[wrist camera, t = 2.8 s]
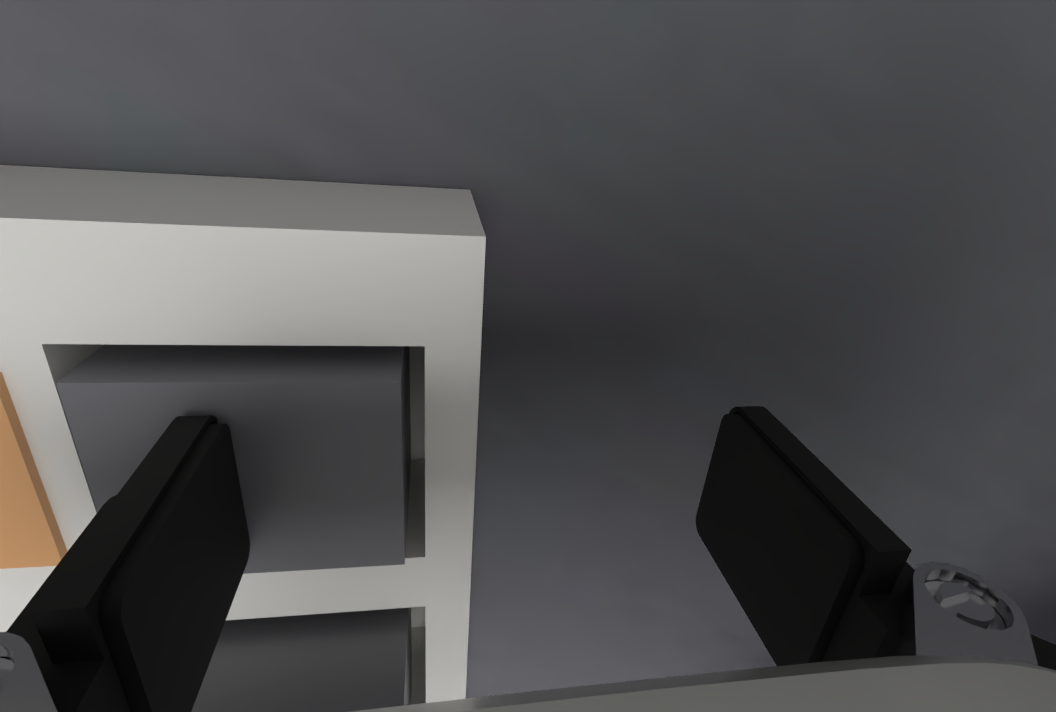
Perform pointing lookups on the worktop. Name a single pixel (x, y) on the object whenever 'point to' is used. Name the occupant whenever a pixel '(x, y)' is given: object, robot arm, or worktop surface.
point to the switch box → (246, 319)
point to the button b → (311, 663)
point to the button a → (266, 438)
